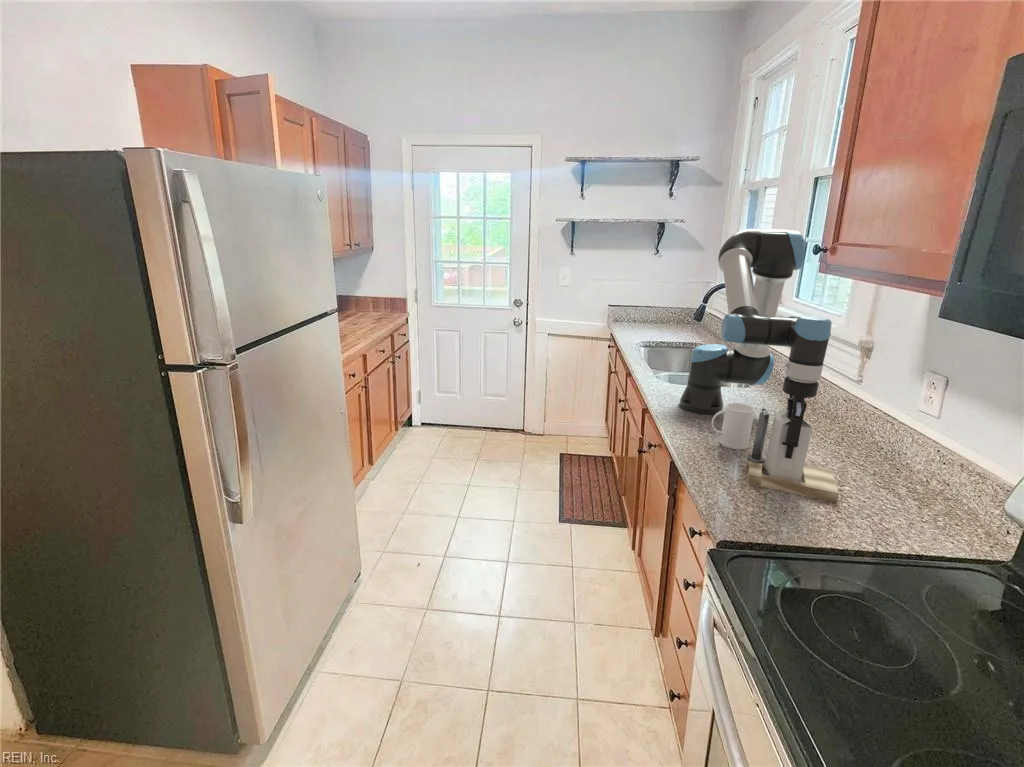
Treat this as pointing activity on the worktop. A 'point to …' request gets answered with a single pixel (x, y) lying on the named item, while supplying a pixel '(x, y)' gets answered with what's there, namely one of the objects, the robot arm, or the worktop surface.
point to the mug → (735, 425)
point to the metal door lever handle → (759, 438)
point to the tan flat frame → (812, 484)
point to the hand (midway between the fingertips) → (784, 461)
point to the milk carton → (776, 446)
